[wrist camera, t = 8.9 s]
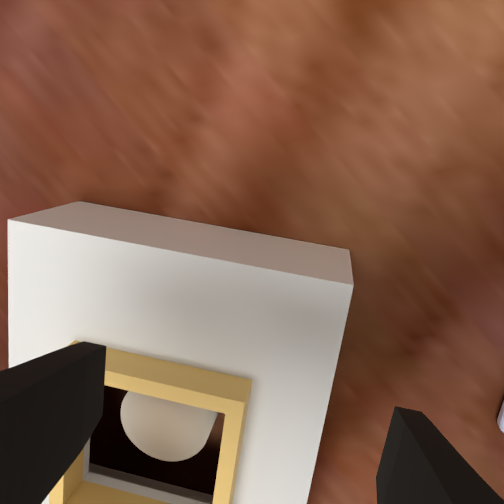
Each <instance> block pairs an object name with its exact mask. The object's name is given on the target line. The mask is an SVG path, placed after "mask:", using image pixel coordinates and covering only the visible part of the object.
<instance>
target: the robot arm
mask: <svg viewBox="0 0 504 504" xmlns="http://www.w3.org/2000/svg"><path fill="white" fill-rule="evenodd" d="M105 364H106V346H105V345H100V344H95V343H90V342H86V341H83V342H79V343H76V344H73V345H70V346H67V347H64V348H61V349H59V350H56V351H53V352H51V353H48V354H45V355H43V356H40V357H37V358H35V359H32V360H29V361H27V362H24V363H22V364H19V365H16V366H14V367H11V368H8V369H5V370H2V371H0V504H41V503H42V502H43V501H44V500H45V498H46V497H47V496H48V494H49V493H50V492H51V491H52V489H53V488H54V487H55V485H56V484H57V483H58V482H59V480H60V479H61V478H62V476H63V475H64V474H65V472H66V471H67V470H68V468H69V467H70V466H71V465H72V463H73V462H74V461H75V459H76V458H77V457H78V455H79V454H80V453H81V451H82V450H83V448H84V446H85V445H86V443H87V441H88V440H89V438H90V437H91V435H92V433H93V431H94V430H95V428H96V426H97V424H98V422H99V421H100V419H101V417H102V415H103V399H104V381H105ZM497 424H498V426H499V428H500V430H501V431H502V432H503V433H504V401H503V404H502V407H501V410H500V413H499V416H498V419H497ZM376 485H377V504H504V500H503V499H502V498H501V497H500V496H499V495H498V494H497V493H496V492H495V491H494V490H493V489H492V488H491V487H490V486H489V485H488V484H487V483H486V482H485V481H484V480H483V479H482V478H481V477H480V476H479V475H478V474H477V473H476V471H475V470H474V469H473V468H472V467H471V466H470V465H469V464H468V463H467V462H466V461H465V460H464V458H463V457H462V456H461V455H460V454H459V453H458V452H457V451H456V449H455V448H454V447H453V446H452V445H451V444H450V443H449V442H448V440H447V439H446V438H445V437H444V436H443V435H442V434H441V432H440V431H439V430H438V429H437V428H436V427H435V426H434V425H433V423H432V422H431V421H430V420H429V419H428V418H427V417H426V416H425V415H424V414H423V413H422V412H420V411H415V410H410V409H405V408H401V407H396V406H395V408H394V412H393V416H392V419H391V423H390V427H389V431H388V434H387V438H386V442H385V446H384V450H383V453H382V457H381V461H380V465H379V469H378V472H377V476H376Z"/></svg>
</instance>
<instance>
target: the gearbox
mask: <svg viewBox="0 0 504 504" xmlns="http://www.w3.org/2000/svg"><path fill="white" fill-rule="evenodd" d="M353 287H354V283H353V275H352V267H351V259H350V251H349V249H343V248H337V247H332V246H326V245H321V244H315V243H310V242H304V241H299V240H293V239H287V238H282V237H276V236H271V235H265V234H260V233H254V232H249V231H243V230H237V229H232V228H226V227H221V226H215V225H210V224H204V223H199V222H193V221H187V220H182V219H176V218H171V217H165V216H160V215H154V214H149V213H143V212H137V211H132V210H126V209H121V208H115V207H110V206H104V205H99V204H93V203H87V202H82V201H78V202H74V203H70V204H66V205H62V206H58V207H54V208H50V209H47V210H43V211H39V212H35V213H31V214H27V215H23V216H19V217H15V218H11V219H8V319H9V368H11V367H14V366H16V365H19V364H22V363H24V362H27V361H29V360H32V359H35V358H37V357H40V356H43V355H45V354H48V353H51V352H53V351H56V350H59V349H61V348H64V347H67V346H70V345H73V344H76V343H79V342H83V341H86V342H90V343H95V344H100V345H105V346H106V364H105V381H104V385H106V386H110V387H115V388H119V389H123V390H127V391H132V392H136V393H140V394H144V395H148V396H153V397H157V398H161V399H165V400H169V401H174V402H178V403H182V404H186V405H191V406H195V407H199V408H203V409H207V410H212V411H216V412H220V413H224V414H225V420H224V427H223V434H222V441H221V448H220V455H219V462H218V468H217V475H216V482H215V489H214V496H213V495H209V494H205V493H202V492H198V491H194V490H190V489H186V488H183V487H179V486H175V485H171V484H167V483H164V482H160V481H156V480H152V479H148V478H145V477H141V476H137V475H133V474H129V473H126V472H122V471H118V470H114V469H110V468H107V467H103V466H99V465H95V464H91V463H89V453H90V438H89V440H88V441H87V443H86V445H85V446H84V448H83V450H82V451H81V453H80V454H79V455H78V457H77V458H76V459H75V461H74V462H73V463H72V465H71V466H70V467H69V468H68V470H67V471H66V472H65V474H64V475H63V476H62V478H61V479H60V480H59V482H58V483H57V484H56V485H55V487H54V488H53V489H52V491H51V492H50V493H49V494H48V496H47V497H46V498H45V500H44V501H43V502H42V503H41V504H307V499H308V495H309V490H310V486H311V481H312V476H313V472H314V467H315V462H316V458H317V453H318V449H319V444H320V439H321V435H322V430H323V425H324V421H325V416H326V412H327V407H328V402H329V398H330V393H331V388H332V384H333V379H334V375H335V370H336V365H337V361H338V356H339V351H340V347H341V342H342V338H343V333H344V328H345V324H346V319H347V314H348V310H349V305H350V301H351V296H352V291H353Z"/></svg>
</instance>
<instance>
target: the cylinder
mask: <svg viewBox="0 0 504 504" xmlns="http://www.w3.org/2000/svg"><path fill="white" fill-rule="evenodd" d="M218 413H219V412H216V411H212V410H207V409H203V408H199V407H195V406H191V405H186V404H182V403H178V402H174V401H169V400H165V399H161V398H157V397H153V396H148V395H144V394H140V393H136V392H132V391H128V392H127V394H126V395H125V397H124V399H123V401H122V405H121V422H122V425H123V428H124V430H125V432H126V434H127V436H128V437H129V439H130V440H131V442H132V443H133V444H134V445H135V446H136V447H137V448H139V449H140V450H141V451H143V452H144V453H146V454H147V455H149V456H151V457H154V458H156V459H159V460H164V461H181V460H185V459H188V458H190V457H192V456H194V455H195V454H197V453H198V452H199V451H200V450H201V449H202V448H203V447H204V445H205V443H206V441H207V439H208V437H209V434H210V432H211V429H212V427H213V425H214V422H215V420H216V418H217V415H218Z"/></svg>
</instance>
